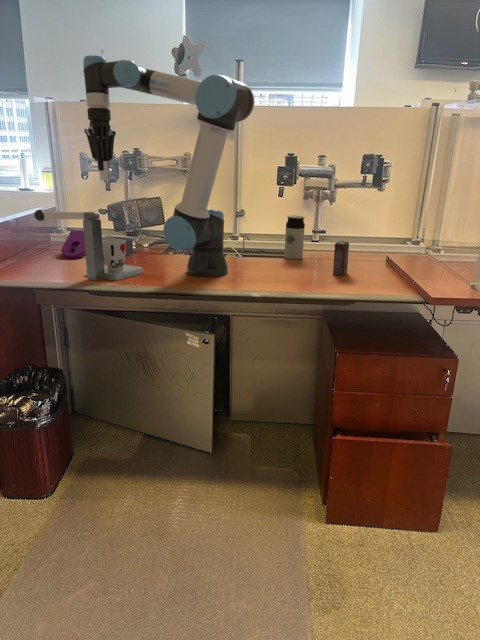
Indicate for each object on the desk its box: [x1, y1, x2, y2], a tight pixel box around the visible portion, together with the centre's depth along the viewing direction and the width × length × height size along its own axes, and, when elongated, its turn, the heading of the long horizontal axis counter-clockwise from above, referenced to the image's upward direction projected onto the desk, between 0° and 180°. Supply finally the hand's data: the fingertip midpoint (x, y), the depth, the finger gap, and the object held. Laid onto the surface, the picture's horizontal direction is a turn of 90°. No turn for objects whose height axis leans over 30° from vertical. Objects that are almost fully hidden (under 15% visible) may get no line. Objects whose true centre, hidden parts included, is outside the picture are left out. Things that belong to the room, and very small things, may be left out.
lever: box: [33, 209, 101, 222], centre depth 150 cm, size 20×5×4 cm, turn 98°
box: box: [332, 240, 350, 277], centre depth 173 cm, size 6×4×12 cm
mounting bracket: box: [60, 229, 86, 260], centre depth 196 cm, size 10×8×18 cm
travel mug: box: [283, 214, 306, 261], centre depth 199 cm, size 8×8×18 cm
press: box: [82, 219, 144, 282], centre depth 161 cm, size 14×18×20 cm
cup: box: [102, 238, 126, 270], centre depth 163 cm, size 8×8×10 cm
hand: (104, 180), depth 165 cm, fingers closed
